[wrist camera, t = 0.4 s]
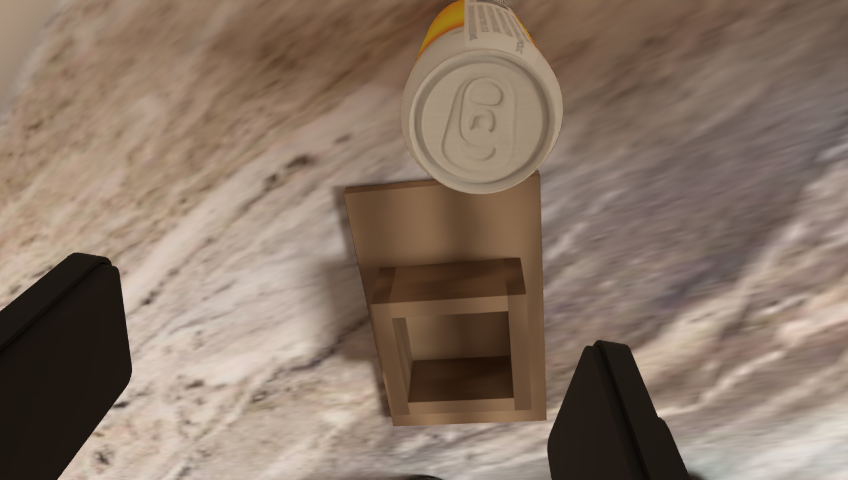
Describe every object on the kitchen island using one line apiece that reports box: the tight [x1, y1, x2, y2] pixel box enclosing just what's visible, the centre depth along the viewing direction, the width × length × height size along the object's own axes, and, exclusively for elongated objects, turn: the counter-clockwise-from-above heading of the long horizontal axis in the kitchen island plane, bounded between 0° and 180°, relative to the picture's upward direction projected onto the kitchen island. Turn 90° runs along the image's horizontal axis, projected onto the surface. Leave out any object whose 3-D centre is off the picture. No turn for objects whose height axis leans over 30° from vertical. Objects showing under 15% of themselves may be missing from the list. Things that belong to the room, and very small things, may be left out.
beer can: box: [400, 0, 563, 194], centre depth 26 cm, size 6×6×15 cm
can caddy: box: [344, 170, 547, 426], centre depth 40 cm, size 13×22×6 cm, turn 7°
